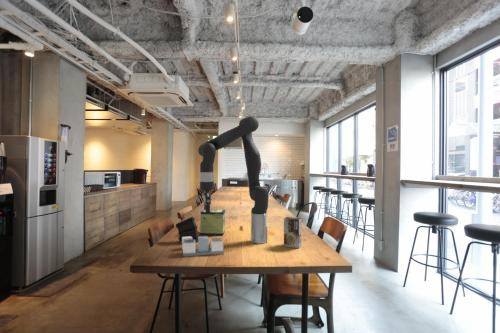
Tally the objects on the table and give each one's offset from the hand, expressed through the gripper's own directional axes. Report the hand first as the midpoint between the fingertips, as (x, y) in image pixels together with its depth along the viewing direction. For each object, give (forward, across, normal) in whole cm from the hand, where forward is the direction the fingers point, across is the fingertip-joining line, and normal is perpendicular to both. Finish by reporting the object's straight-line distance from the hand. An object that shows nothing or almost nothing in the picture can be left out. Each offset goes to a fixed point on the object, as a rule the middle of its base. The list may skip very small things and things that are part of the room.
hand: (206, 211), depth 139 cm
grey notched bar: (+21, -4, +2) cm, 21 cm away
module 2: (+20, -4, +2) cm, 20 cm away
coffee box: (+22, -2, -49) cm, 53 cm away
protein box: (+22, +36, -7) cm, 43 cm away
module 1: (+21, +6, +10) cm, 24 cm away
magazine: (+21, +19, +10) cm, 30 cm away
